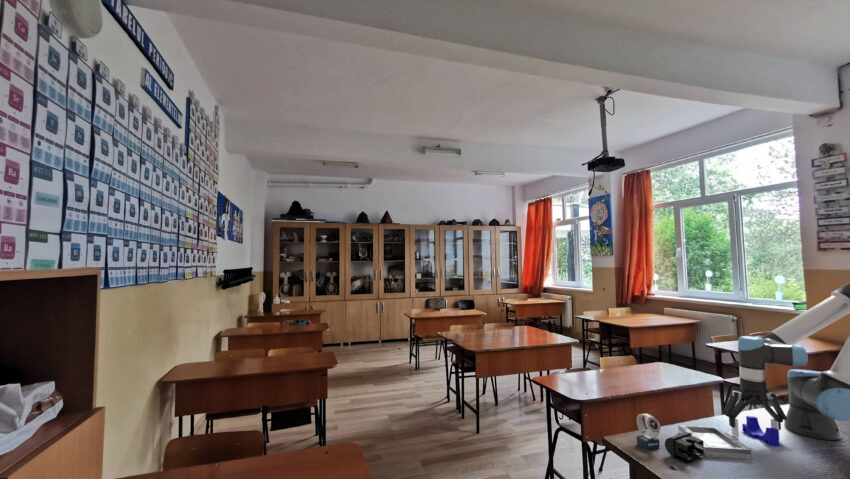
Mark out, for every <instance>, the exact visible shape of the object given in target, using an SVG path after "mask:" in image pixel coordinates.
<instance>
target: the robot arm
mask: <svg viewBox="0 0 850 479" xmlns="http://www.w3.org/2000/svg"><path fill="white" fill-rule="evenodd" d="M848 314H850V281H849V282H847V283H845V284H843V285H841V286H840V287H838V288H836V289H835V290H833V291H831V293H830V296H829V297H827V298H826V299H824V300H823V301H820V302H819V303H817V304H816V305H814V306H813V307H811V308H808V309H807V310H805V311H803V312H802V313H801V314H798V315H797V316H795V317H794V318H791V319H790V320H789V321H786V322H785V323H783V324H782V325H780V326H778V327H777V328H775V329H773V330H772V331H770V332H768V333H766V334H764V335H756V336H751V335H741V336H739V337H738V341H737V354H738V366H739V368H738V369H739V376H740V377H739V387H740V390H739V391H735V390H733V389H732V390H731V391H730V397H729V398H728V400H727V403H726V404H725V407H724V409H723V410H722V414H723V415H724V416H726V417H728V422H729V423H728V424H729V426H730V427H731V436H732V435H733V436H734V438H737V439H738V438H739V437H740V436H739V419H738V418H737V417H738V416H739V415H740V414H741V412H743V410H745V408H746V407H748V406H749V405H751V406H754V405H756V406H762V407H763V408H764V409H765V411H766V412H767V413H768V414H769V415H770V416H771V418H770V428H776V429H778V431H779V432H780V431H781V430H782V424H781V423H783V422H784V427H785V428H786V429H787V430H788V431H791V432H792V433H795V434H799V435H801V436H805V437H808V438H813V439H819V440H823V441H824V440H826V441H836V440H837V441H838V440H840V439H841V431H840V430H839V427H838V425H837V423H836V422H843V423H850V334H849V335H848V337H847V339H846V340H845V343H844V344H843V346H842V348H841V350H840V351H839V352H838V354H837V357H836V358H835V360H834V362H833V364H832V365H831V367H830V369H829V370H824V371H816V370H809V369H797V368H795V369H792V368H791V369H789V370H788V371H787V377H786V379H787V388H788V391H787V392H788V402H789V403H788V404H789V405H788V406H789V407H788V410H787V412H786V414H785V412H784V410H783V408H782V407H781V405H780V403H779V401H778V400H777V399H778V398H777V395H776V393H774V392H771V391H768V392H767V382H766V380H767V378H766V365H778V366H790V367H805V366H806V365H807V363H808V361H809V360H808V359H809V358H808V357H809V356H808V353H807V350H806V349H805V348H804V346H802V345H799V344H798V343H799V342H802V341H803V340H806V338H808V337H810V336H812V335H813V334H815V333H818V332H819V331H821V330H822V329H824V328H826V327H827V326H830V325H831V324H833V323H835V322H836V321H838V320H840V319H842V318H843V317H845V316H847V315H848ZM766 399H768V401H769V402H770V404H771V406H772V407H773V408H772V407H771V406H770V405H769V403H768V402H767V401H766Z"/></svg>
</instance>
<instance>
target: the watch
mask: <svg viewBox="0 0 850 479" xmlns="http://www.w3.org/2000/svg"><path fill="white" fill-rule="evenodd" d="M643 418H644V421H645V424H644V421H643ZM636 425H637V428H638V430H639V433H640V434H638V435H637V434H636V445H637V446H639V447H641V448H642V449H644V450H646V451H649V450H656V449H660V439H659V437H658V436H659V434H660V430H661V423H660V422H659V420H658V419H657V418H655V417H654V416H653V415H651V414H649V413H647V412H646V413H640V414H638V415H637V417H636ZM647 429H648V431H649V432H650V433H647Z"/></svg>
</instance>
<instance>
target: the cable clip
mask: <svg viewBox="0 0 850 479" xmlns="http://www.w3.org/2000/svg"><path fill="white" fill-rule="evenodd" d="M745 419H746V420H745V421H746V423H742V432H744V434H746V435H748V436H749V437H751V438H752V439H758V440H759V441H761V442H763V443H765V444H766V445H767V446H769V447H778V448H779V447H780V430H779V431H778V429H776V428H771V427H765V432H764V431H763V430H762V428H761V426H760V424H759V419H758V417H757V416H754V415H752V416H751V415H746V416H745Z"/></svg>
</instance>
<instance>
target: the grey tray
mask: <svg viewBox="0 0 850 479" xmlns="http://www.w3.org/2000/svg"><path fill="white" fill-rule="evenodd" d="M677 429H678V435H680V434H683V433H687V432H688V433H691V434H692V436H693V437H695V438H698V439H700V440H703V444H704V446H702V445H700V444H697V443H695V446H697V447H699V448H701V449H704V455H703V456H704V457H709V458H711V457H712V458H727V459H743V460H752V459H753V457H752V455H753V454H752V450H751V449H750V447H748V446H746V445H745V444H744V443H742V442H740V441H739V440H738V439H736V437H733V436H732V434H729V433H728V432H726V431H725V430H723V429H722V428H720V427H719V426H706V425H705V426H704V425H685V424H678V428H677Z"/></svg>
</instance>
